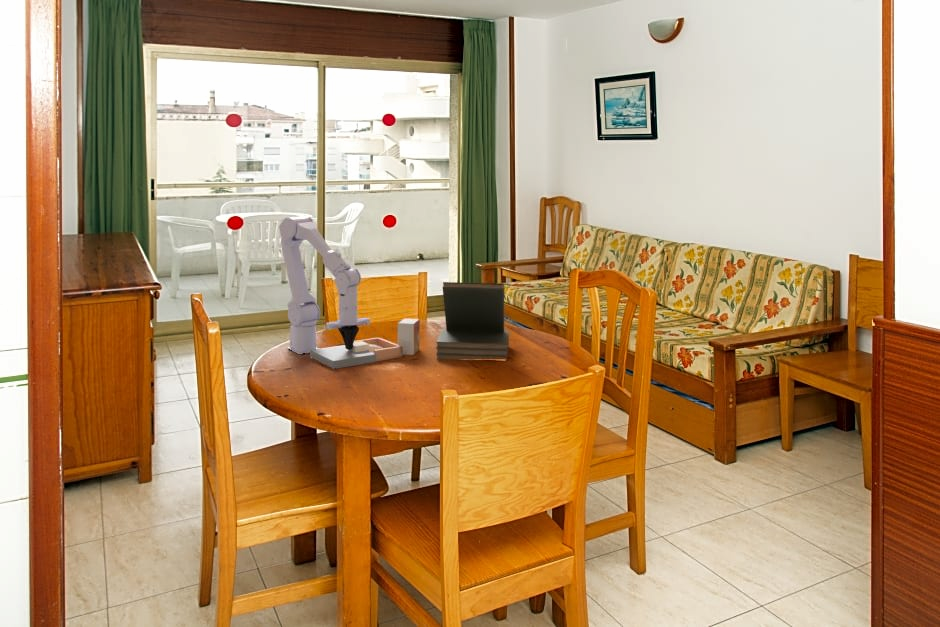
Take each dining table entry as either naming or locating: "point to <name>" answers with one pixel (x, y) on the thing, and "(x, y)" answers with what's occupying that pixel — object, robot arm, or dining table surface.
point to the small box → (409, 335)
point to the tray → (385, 348)
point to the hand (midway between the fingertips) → (348, 349)
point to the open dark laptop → (473, 322)
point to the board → (342, 356)
